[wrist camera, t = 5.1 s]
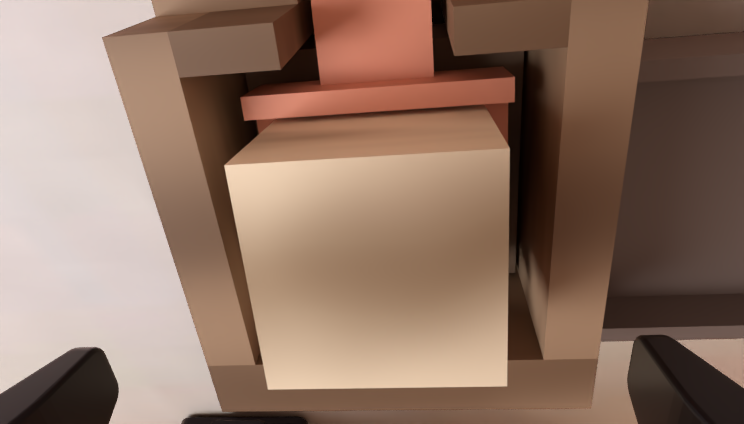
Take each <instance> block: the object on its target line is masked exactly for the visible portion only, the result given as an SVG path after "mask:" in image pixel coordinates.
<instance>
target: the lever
mask: <svg viewBox="0 0 744 424" xmlns="http://www.w3.org/2000/svg"><path fill="white" fill-rule="evenodd" d="M311 8H312V16H313V25H314V33H315V41H316V50H317V58H318V67H319V75H320V80H316V81H303V82H290V83H276V84H263V85H260V86H258V87H257V88H255V89H253V90H252V91H250V92H248V93H246V94H245V95H243V96H241V97H240V99H241V105H242V111H243V116H244V121H247V120H257V126H258V132H259V134H260V133H261V132H262V131H263V130H264V129H265V128H267V127H268V126H269V125H270V124H271V123H272V122H273V121H274V120H276V119H277V118H291V117H305V116H320V115H335V114H349V113H364V112H378V111H393V110H408V109H422V108H437V107H451V106H466V105H481V104H484V105H485V106H486V108H487V110H488V112H489V113H490V115H491V117H492V118H493V120H494V122H495V124H496V125H497V127H498V129H499V131H500V132H501V134H502V136H503V137H504V139H505V141H506V143H507V144H508V103H510V102H515V77H514V76H513V75H512V74H511V73H510V72H509V71H508V70H506V69H505V68H504V67H503V66H501V67H488V68H475V69H462V70H449V71H435V72H434V63H433V39H432V14H431V0H311Z"/></svg>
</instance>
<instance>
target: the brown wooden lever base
mask: <svg viewBox="0 0 744 424" xmlns="http://www.w3.org/2000/svg"><path fill="white" fill-rule="evenodd" d="M151 1H152V4H153V8H154V12H155V15H156V17H154V18H152V19H149V20H147V21H144V22H141V23H139V24H136V25H134V26H131V27H128V28H126V29H123V30H121V31H118V32H115V33H113V34H110V35H108V36H105V37H102V39H103V42H104V45H105V48H106V51H107V54H108V57H109V61H110V64H111V67H112V70H113V73H114V76H115V79H116V82H117V85H118V89H119V92H120V95H121V98H122V101H123V104H124V107H125V110H126V113H127V116H128V120H129V123H130V126H131V129H132V132H133V135H134V138H135V141H136V144H137V148H138V151H139V154H140V157H141V160H142V163H143V166H144V169H145V172H146V176H147V179H148V182H149V185H150V188H151V191H152V194H153V197H154V200H155V204H156V207H157V210H158V213H159V216H160V219H161V222H162V225H163V228H164V232H165V235H166V238H167V241H168V244H169V247H170V250H171V253H172V256H173V259H174V263H175V266H176V269H177V272H178V275H179V278H180V281H181V284H182V287H183V291H184V294H185V297H186V300H187V303H188V306H189V309H190V312H191V315H192V319H193V322H194V325H195V328H196V331H197V334H198V337H199V340H200V343H201V347H202V350H203V353H204V356H205V359H206V362H207V365H208V368H209V371H210V374H211V378H212V381H213V384H214V387H215V390H216V393H217V396H218V399H219V402H220V406H221V409H222V412H238V411H351V410H463V409H576V408H591V404H592V397H593V390H594V383H595V376H596V369H597V362H598V355H599V348H600V341H601V334H602V327H603V320H604V313H605V306H606V299H607V292H608V285H609V278H610V271H611V264H612V257H613V250H614V243H615V236H616V229H617V222H618V215H619V208H620V201H621V194H622V187H623V180H624V173H625V166H626V159H627V152H628V145H629V138H630V130H631V123H632V116H633V109H634V102H635V95H636V88H637V81H638V74H639V67H640V60H641V53H642V46H643V39H644V32H645V25H646V18H647V11H648V4H649V0H441V10H442V14H443V18H444V21H445V24H433V25H432V39H433V63H434V72H435V71H449V70H462V69H475V68H488V67H501V66H503V67H504V68H505V69H506V70H508V71H509V72H510V73H511V74H512V75H513V76H514V77H515V102H510V103H508V146H509V148H510V178H509V267H508V355H507V386H501V387H426V388H351V389H276V390H268V387H267V382H266V377H265V372H264V366H263V361H262V356H261V351H260V346H259V341H258V336H257V331H256V326H255V320H254V315H253V310H252V305H251V300H250V295H249V290H248V285H247V280H246V274H245V269H244V264H243V259H242V254H241V249H240V244H239V239H238V234H237V228H236V223H235V218H234V213H233V208H232V203H231V198H230V193H229V188H228V182H227V177H226V172H225V167H224V165H225V164H226V163H227V162H228V161H230V160H231V159H232V158H233V157H234V156H235V155H236V154H237V153H239V152H240V151H241V150H242V149H243V148H244V147H245V146H246V145H247V144H249V143H250V142H251V141H252V140H253V139H254V138H255V137H256V136H258V135H259V132H258V126H257V120H247V121H244V116H243V111H242V105H241V99H240V97H241V96H243V95H245V94H246V93H248V92H250V91H252V90H253V89H255V88H257V87H258V86H260V85H263V84H276V83H290V82H303V81H316V80H320V75H319V67H318V58H317V50H316V41H315V35H312V34H313V33H314V25H313V16H312V8H311V0H151Z"/></svg>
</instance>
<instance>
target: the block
mask: <svg viewBox="0 0 744 424" xmlns="http://www.w3.org/2000/svg"><path fill="white" fill-rule="evenodd" d="M224 167H225V172H226V177H227V182H228V188H229V193H230V198H231V203H232V208H233V213H234V218H235V223H236V228H237V234H238V239H239V244H240V249H241V254H242V259H243V264H244V269H245V274H246V280H247V285H248V290H249V295H250V300H251V305H252V310H253V315H254V320H255V326H256V331H257V336H258V341H259V346H260V351H261V356H262V361H263V366H264V372H265V377H266V382H267V387H268V390H276V389H351V388H426V387H501V386H507V355H508V267H509V178H510V148H509V146H508V144H507V143H506V141H505V139H504V137H503V136H502V134H501V132H500V131H499V129H498V127H497V125H496V124H495V122H494V120H493V118H492V117H491V115H490V113H489V112H488V110H487V108H486V106H485V105H484V104H481V105H466V106H451V107H437V108H422V109H408V110H393V111H378V112H364V113H349V114H335V115H320V116H305V117H291V118H277V119H276V120H274V121H273V122H272V123H271V124H270V125H269V126H268V127H267V128H265V129H264V130H263V131H262V132H261V133H260V134H259V135H258V136H256V137H255V138H254V139H253V140H252V141H251V142H250V143H249V144H247V145H246V146H245V147H244V148H243V149H242V150H241V151H240V152H239V153H237V154H236V155H235V156H234V157H233V158H232V159H231V160H230V161H228V162H227V163H226V164H225V165H224Z"/></svg>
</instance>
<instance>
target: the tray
mask: <svg viewBox="0 0 744 424" xmlns="http://www.w3.org/2000/svg"><path fill="white" fill-rule="evenodd" d="M640 335H667V336H669V337H671V338H673V339H674V340H691V339H738V338H744V32H733V33H720V34H708V35H695V36H682V37H670V38H657V39H644V40H643V46H642V53H641V60H640V67H639V74H638V81H637V88H636V95H635V102H634V109H633V116H632V123H631V130H630V138H629V145H628V152H627V159H626V166H625V173H624V180H623V187H622V194H621V201H620V208H619V215H618V222H617V229H616V236H615V243H614V250H613V257H612V264H611V271H610V278H609V285H608V292H607V299H606V306H605V313H604V320H603V327H602V334H601V341H635V339H636V337H638V336H640Z"/></svg>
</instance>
